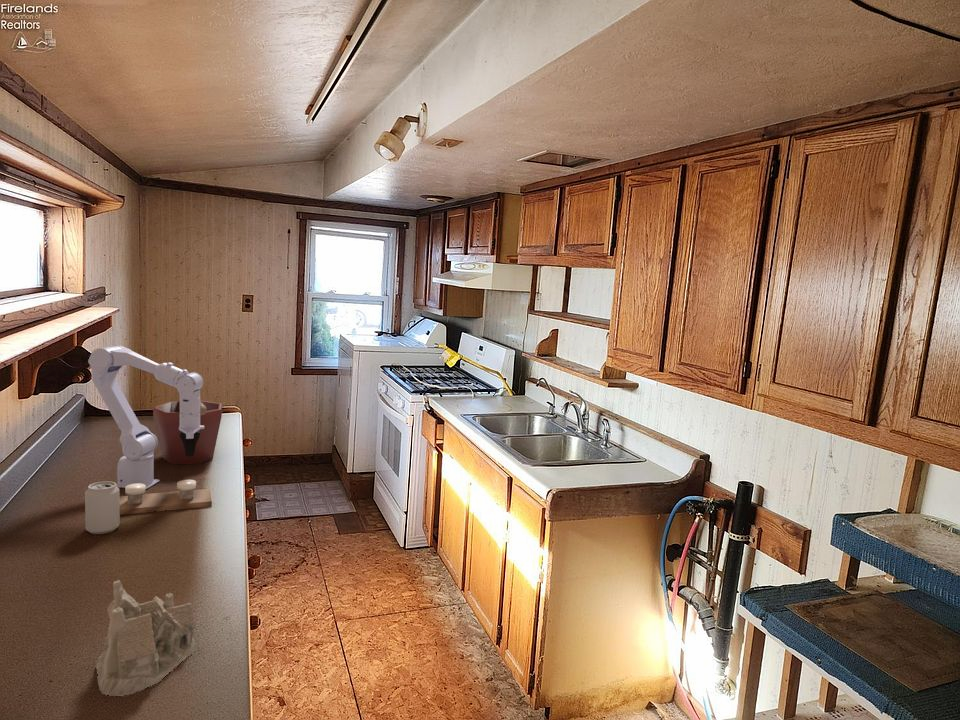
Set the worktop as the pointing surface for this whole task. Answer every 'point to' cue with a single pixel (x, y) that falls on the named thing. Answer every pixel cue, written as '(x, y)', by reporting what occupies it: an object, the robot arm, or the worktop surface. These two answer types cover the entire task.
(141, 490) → the plunger
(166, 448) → the bucket
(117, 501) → the can
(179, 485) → the plunger
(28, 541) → the worktop surface
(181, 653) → the ceramic cottage
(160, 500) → the stand
